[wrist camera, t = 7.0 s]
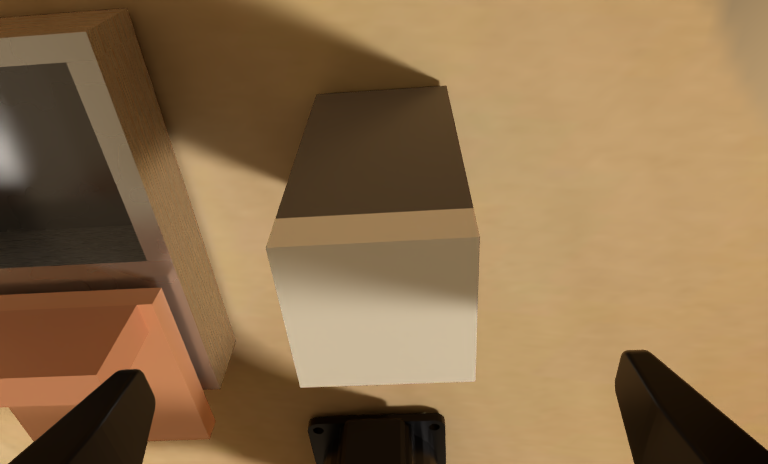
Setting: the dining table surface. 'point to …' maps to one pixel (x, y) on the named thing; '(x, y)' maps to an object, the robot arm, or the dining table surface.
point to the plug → (378, 243)
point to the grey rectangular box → (98, 178)
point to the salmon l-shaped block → (96, 357)
